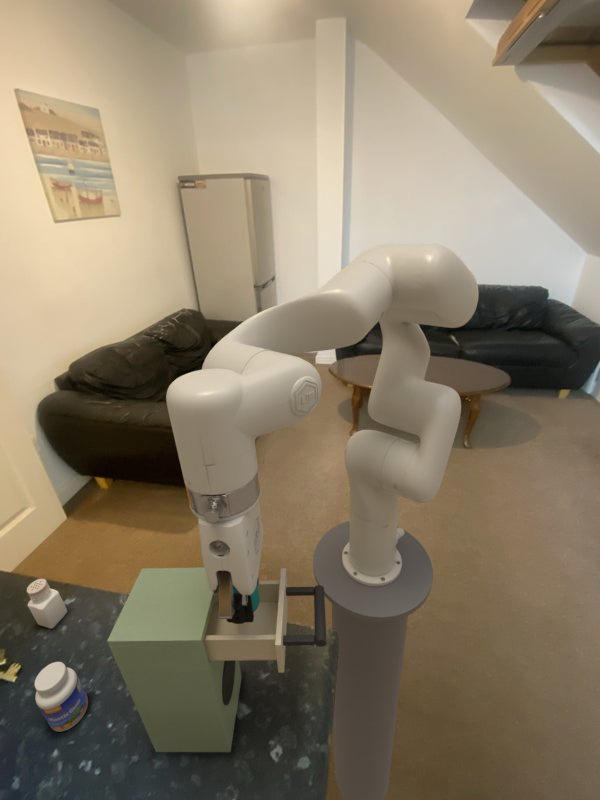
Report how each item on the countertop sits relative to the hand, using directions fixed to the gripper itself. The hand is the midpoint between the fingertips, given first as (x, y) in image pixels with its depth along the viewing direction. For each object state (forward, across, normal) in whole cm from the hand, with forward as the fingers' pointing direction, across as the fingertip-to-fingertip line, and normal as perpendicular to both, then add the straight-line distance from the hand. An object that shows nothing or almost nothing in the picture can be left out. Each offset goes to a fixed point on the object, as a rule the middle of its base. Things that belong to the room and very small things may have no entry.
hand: (243, 601), depth 47 cm
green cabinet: (+26, 0, +10) cm, 27 cm away
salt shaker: (+26, +16, +44) cm, 53 cm away
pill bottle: (+26, 0, +31) cm, 40 cm away
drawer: (+6, 0, -2) cm, 6 cm away
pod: (0, 0, 0) cm, 0 cm away
